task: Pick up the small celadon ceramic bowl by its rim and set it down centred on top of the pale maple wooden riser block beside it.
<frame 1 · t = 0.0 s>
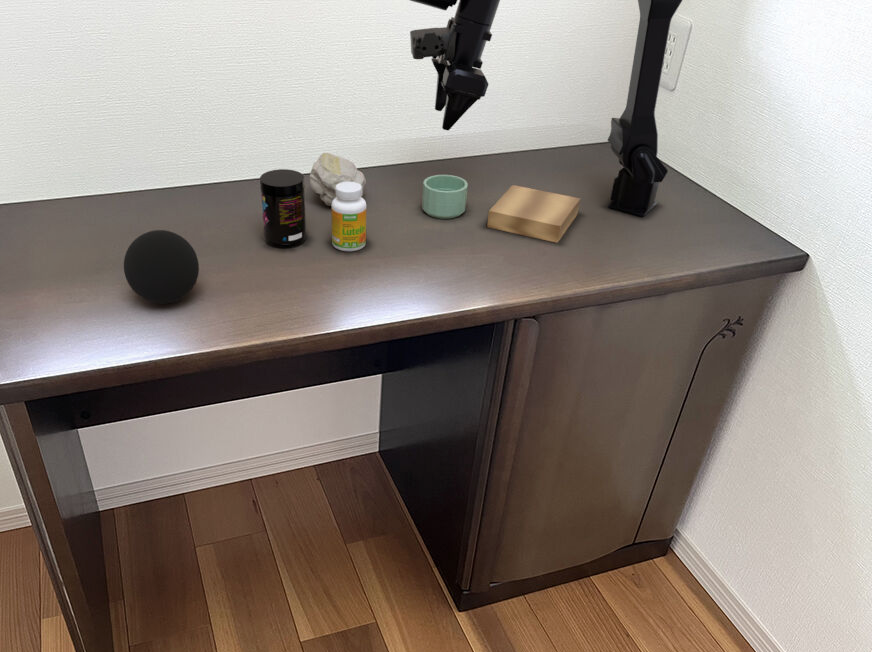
hand: (441, 119, 128), 15 cm above the table, tool pointing down, fingers open, 9 cm apart
decorative ball: (166, 299, 113), on the table
fossil replica: (337, 201, 140), on the table
supplement container: (285, 240, 128), on the table
riser: (532, 221, 134), on the table
supplement bottle: (348, 245, 127), on the table
bowl: (443, 210, 137), on the table
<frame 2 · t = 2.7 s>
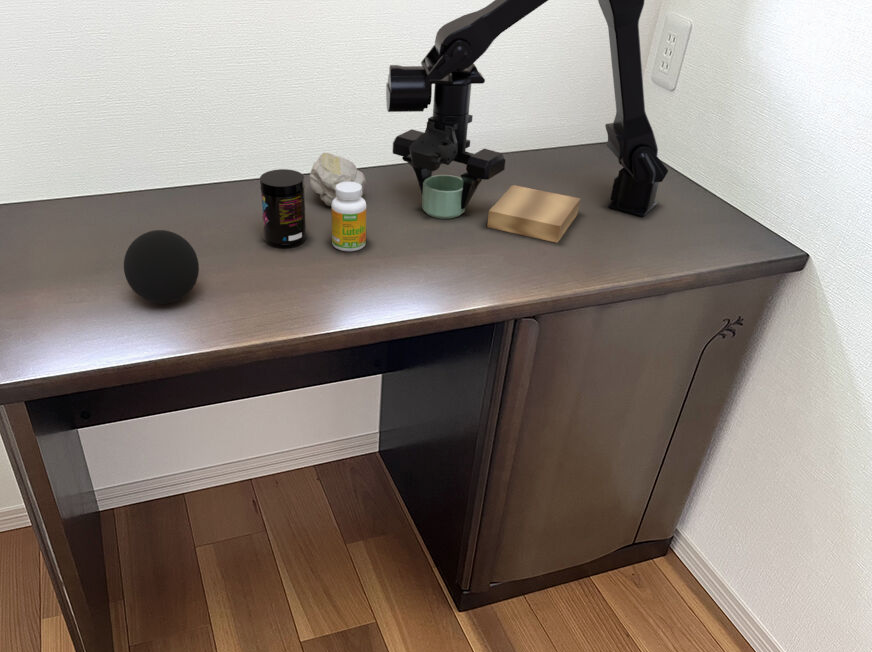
hand: (444, 202, 136), 2 cm above the table, tool pointing down, fingers closed on bowl, 7 cm apart
bowl: (443, 210, 137), on the table, touching gripper
everything else where it was.
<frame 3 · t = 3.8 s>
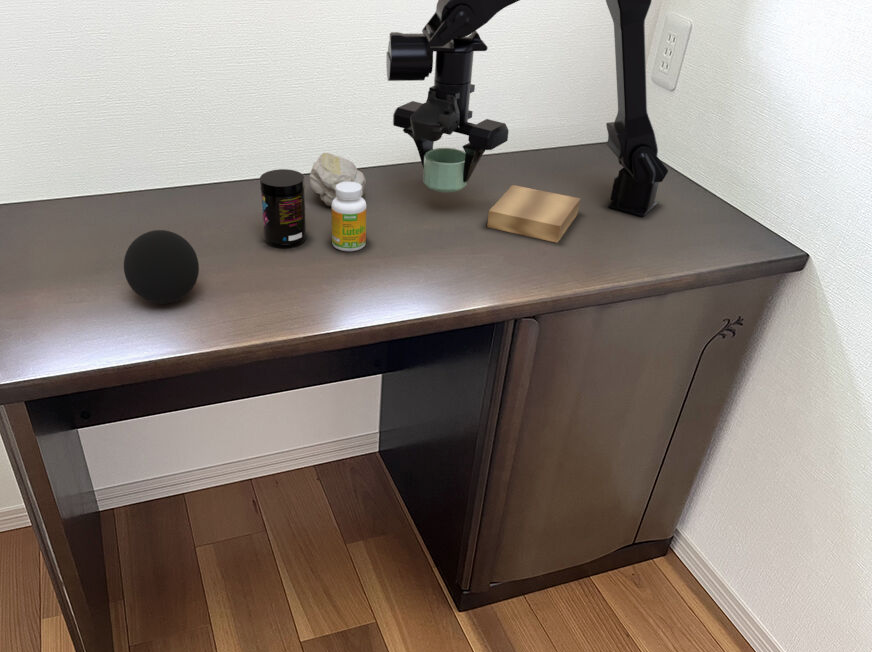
hand: (445, 175, 133), 6 cm above the table, tool pointing down, fingers closed on bowl, 7 cm apart
bowl: (445, 184, 134), point 5 cm above the table, touching gripper
everything else where it was.
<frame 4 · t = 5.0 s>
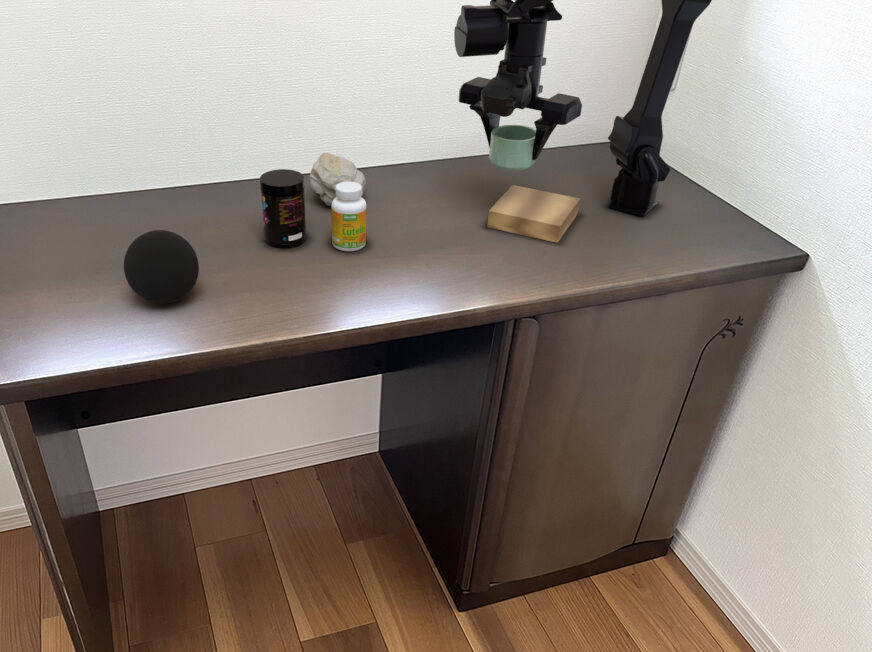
hand: (513, 153, 128), 11 cm above the table, tool pointing down, fingers closed on bowl, 7 cm apart
bowl: (511, 163, 129), point 10 cm above the table, touching gripper
everything else where it was.
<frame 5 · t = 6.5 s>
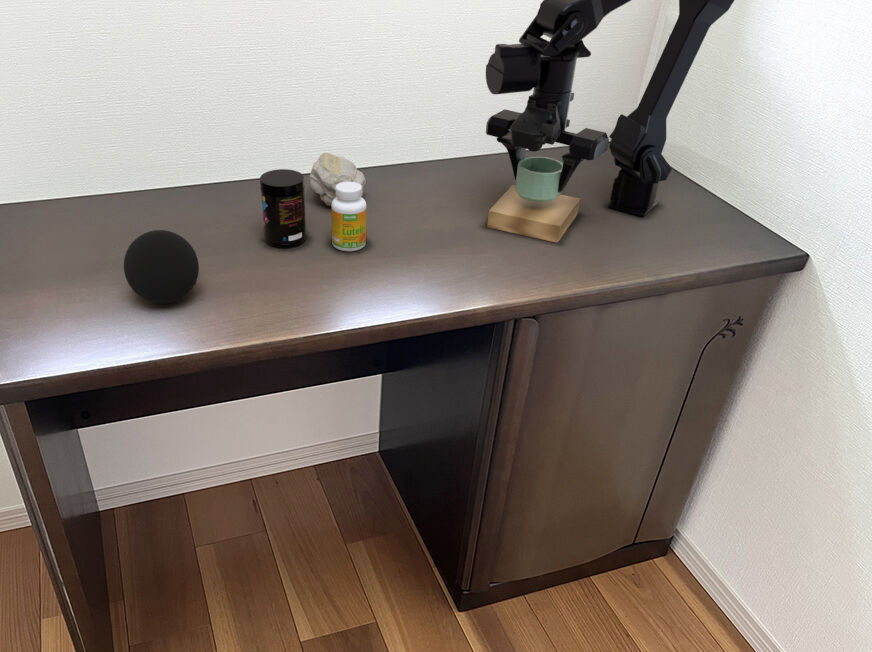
hand: (538, 185, 130), 6 cm above the table, tool pointing down, fingers closed on bowl, 7 cm apart
bowl: (537, 194, 131), point 5 cm above the table, touching gripper
everything else where it was.
when the fingers open (4 cm above the table, at t = 7.7 s): bowl stays where it is, resting on riser.
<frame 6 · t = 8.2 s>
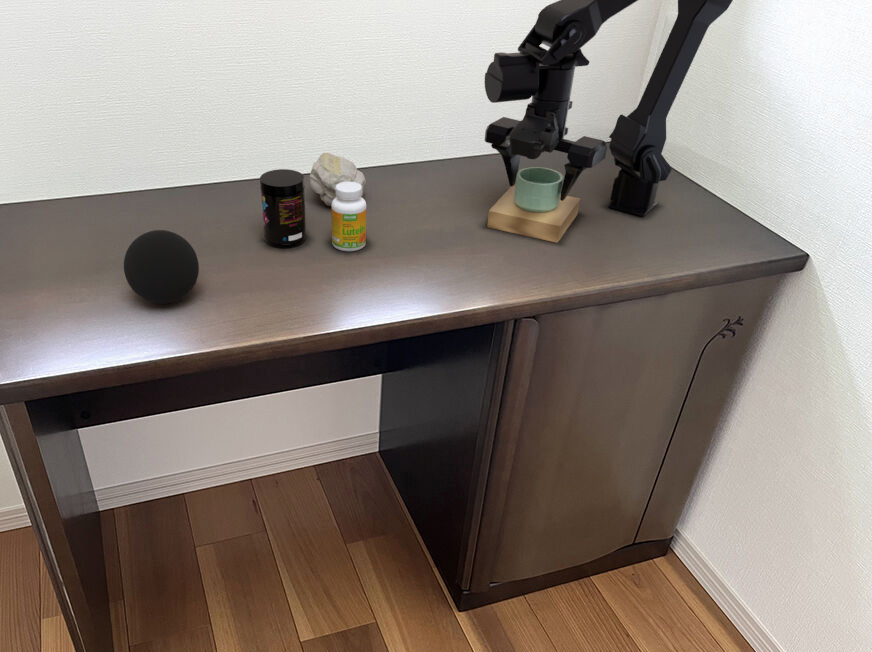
hand: (537, 192, 131), 5 cm above the table, tool pointing down, fingers open, 9 cm apart
riser: (532, 220, 134), on the table, touching bowl
bowl: (535, 204, 132), point 3 cm above the table, touching riser
everything else where it was.
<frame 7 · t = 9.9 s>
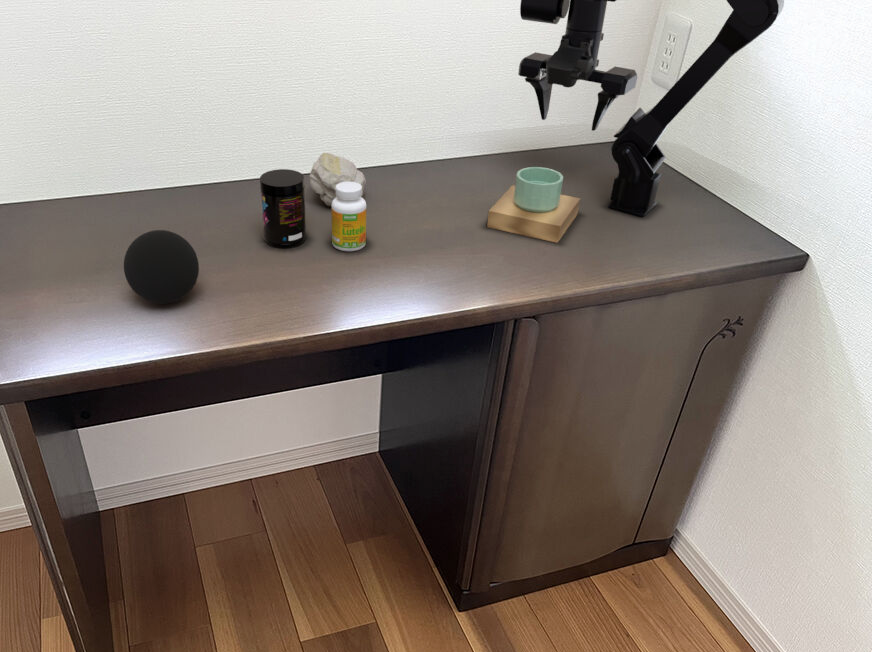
hand: (568, 124, 137), 12 cm above the table, tool pointing down, fingers open, 9 cm apart
nothing on the table moved.
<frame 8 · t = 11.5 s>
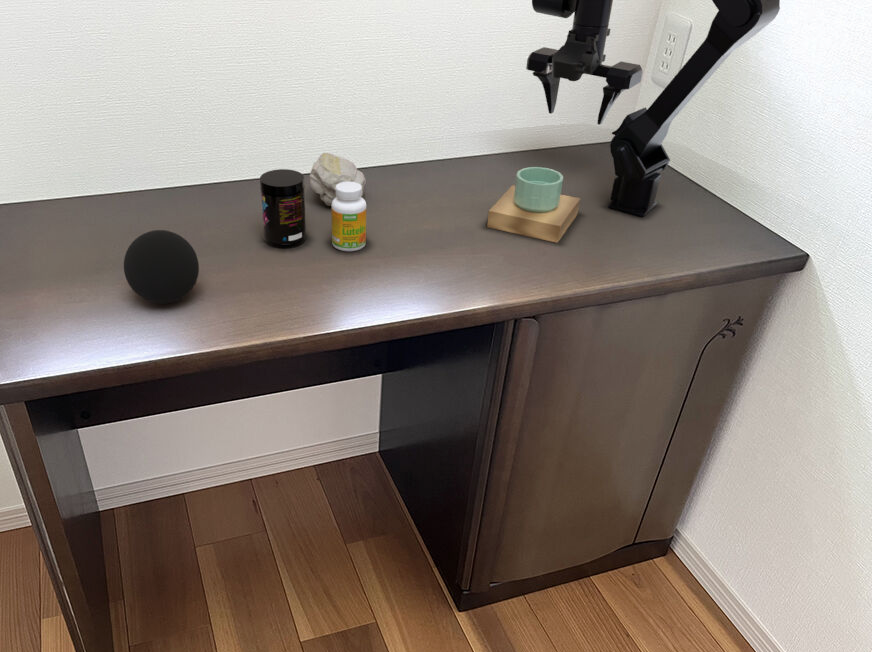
hand: (574, 118, 140), 12 cm above the table, tool pointing down, fingers open, 9 cm apart
nothing on the table moved.
at the end: bowl 0.1 cm off-centre on the riser, point 3.0 cm above the riser's base; bowl tilted 0°; the gripper is holding nothing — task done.
